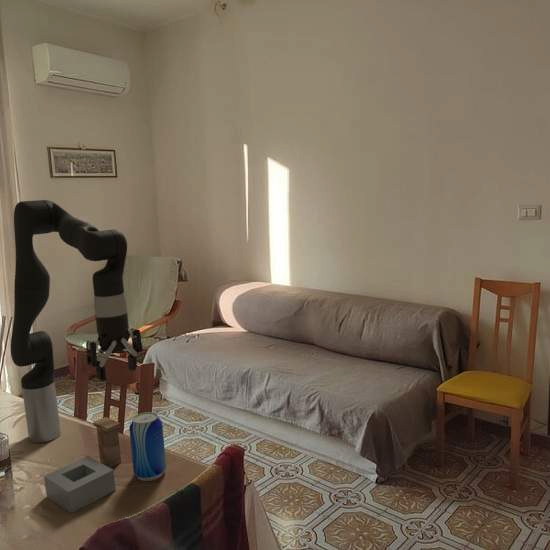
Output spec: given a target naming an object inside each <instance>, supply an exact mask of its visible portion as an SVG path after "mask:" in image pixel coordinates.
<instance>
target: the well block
mask: <svg viewBox="0 0 550 550" xmlns="http://www.w3.org/2000/svg"><path fill="white" fill-rule="evenodd" d="M43 478H44V479H43V480H44V485H45V494H46V497H47V498H48V499H50V500H51V501H53V503H56V504H57V505H59V506H60V507H61V508H63V509H64V510H66V511H67V512H69V513H70V514H73V513H75V512H77V511H78V510H81V509H83V508H84V507H86V506H88V505H90V504H92V503H94V502H96V501H98V500H99V499H102V498H104V497H105V496H107V495H109V494H112V493H113V492H114V491H116V482H115V473H114V469H113V468H112V467H110V468H109V467H107V466H105V465H103V464H102V463H101V462H100V461H98V460H96V459H94V458H92V457H91V456H89V455H88V456H84V457H83V458H80V459H78V460H76V461H74V462H71V463H70V464H67V465H64V466H63V467H60V468H58V469H55V470H53V471H51V472H50V473H47V474H45V475H44V476H43Z"/></svg>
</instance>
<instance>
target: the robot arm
mask: <svg viewBox="0 0 550 550" xmlns="http://www.w3.org/2000/svg"><path fill="white" fill-rule="evenodd" d="M13 229H14V245H15V247H14V248H15V268H14V269H15V272H14V273H15V274H14V291H13V293H14V298H13V299H14V301H13V302H14V305H13V306H14V307H13V310H14V311H13V322H12V323H13V324H12V331H11V336H10V337H11V339H10V357H11V360H12V362H13V364H14V365H15V366H17V367H19V368H20V367H21V368H22V367H28V366H32V365H34V366H33V367H32V368H31V370H29V371H28V372H26V373H25V374H24V375H23V376H22V377H21V378H20V379H21V380H20V384H21V390H22V391H21V392H22V397H23V404H24V405H23V406H24V412H25V420H26V426H27V435H28V441H29V442H30V443H34V444H39V443H42V444H43V443H46V442H50V441H52V440H55V439H57V438H58V437H60V435H61V434H62V432H61V431H62V430H61V423H60V422H61V421H60V415H59V413H60V412H59V407H58V397H57V392H56V384H55V361H54V348H53V341H52V338H51V336H50V335H49V333H48V332H47V331H44V330H40V331H34V332H31V330H32V327H33V324H34V323H35V321H36V319H38V317H39V315H40V314H41V312H42V311H43V309H44V307H46V305H47V303H48V300H49V298H50V286H51V277H50V273H49V271H48V270H47V268H46V266H45V265H44V264H43V262H42V261H41V259H40V258H39V257H38V256H37V252H35V249H34V242H33V241H34V240H33V238H34V235H35V236H36V235H44V234H45V235H46V234H50V233H58V235H59V238H60V239H61V241H62V242H63V243H65V244H67V245H68V246H70V247H73V248H75V249H76V250H78V252H79V253H80V254H81V256H82V257H83V258H84V259H85V260H87V261H91V262H101V261H106V264H105V265H104V267H103V268H101V269H99V270H97V271H94V272H93V274H92V287H93V295H94V299H93V300H94V302H93V303H94V304H93V306H94V315H95V324H96V333H97V339H95V340H87V341H85V347H86V349H85V350H86V364H87V366H90V367H94V368H95V373H96V378H97V379H98V380H99V381H100V382H106V381H107V375H106V374H107V373H106V372H107V371H106V366H105V364H106V361H107V360H108V359H109V358H110V356H111V355H113V354H116V353H119V352H125V353H126V354H127V356H126V358H127V364H128V365H127V366H128V371H131V372H134V371H136V370H137V366H138V362H137V355H138V353H142V352H143V350H144V349H143V343H142V336H141V330H140V329H137V328H134V327H133V328H130V330H129V327H130V326H129V316H128V306H127V299H126V294H125V288H124V272H125V264H126V261H127V260H126V258H127V253H128V241H127V239H126V236H125V234H124V233H123V232H122V231H121V230H119V229H105V230H99V229H98V228H97V227H96V226H95V225H93V224H92V223H89V222H87V221H84V220H81V219H79V218H77V217H74V215H72V214H70V213H69V212H68V211H67V210H65V208H63V207H61V206H60V205H59V204H57V203H56V202H54V201H52V200H48V199H40V200H39V199H38V200H23V201H19V202H18V203H16V204H15V207H14V211H13ZM129 339H131V344H132V345H131V344H130V343H129ZM97 350H98V351H97Z"/></svg>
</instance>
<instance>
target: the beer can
mask: <svg viewBox="0 0 550 550" xmlns="http://www.w3.org/2000/svg"><path fill="white" fill-rule="evenodd" d="M131 421H132V422H130V425H129V440H130V450H131V458H132V459H131V460H132V468H133V469H132V470H133V475H134V476H135V477H137V479H138V480H139V481H143V482H150V481H151V482H152V481H155V480H157V479H160V478H161V477H162V476H163V475H164V472H165V471H166V469H167V462H166V449H165V440H164V439H165V438H164V427H163V426H164V425H163V422H162V420H161V419H160V418H159V415H158V413H156V412H151V411H147V412H141V413H138V414H136V415H134V416H133V417H132V418H131Z"/></svg>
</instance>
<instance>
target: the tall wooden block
mask: <svg viewBox="0 0 550 550" xmlns="http://www.w3.org/2000/svg"><path fill="white" fill-rule="evenodd" d="M92 424H93V426H94V427H96V434H97V435H96V436H97V444H98V452H99V462H100V463H102V464H103V465H105V466H107V467H109V468H112V467H114V466H116V465H118V464H120V463H122V456H121V447H120V446H121V445H120V437H119V429H118V428H120V427H121V422H119V421H116V420H114V419H112V418H110V417H108V416H105V417H101V418H100V419H97V420H95V421H92Z"/></svg>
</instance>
